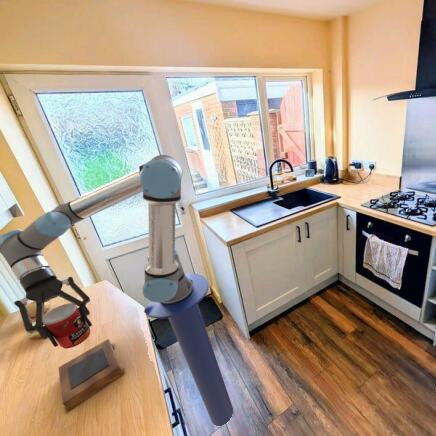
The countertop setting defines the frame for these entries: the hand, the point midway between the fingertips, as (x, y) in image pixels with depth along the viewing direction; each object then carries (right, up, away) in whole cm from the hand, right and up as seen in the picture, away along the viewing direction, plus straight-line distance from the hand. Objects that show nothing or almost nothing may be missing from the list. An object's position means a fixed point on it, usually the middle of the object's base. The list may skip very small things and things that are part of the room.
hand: (74, 334), depth 73 cm
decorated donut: (-34, -10, +26) cm, 45 cm away
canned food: (-2, -3, +4) cm, 5 cm away
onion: (-47, -7, +36) cm, 60 cm away
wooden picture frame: (+1, -16, +6) cm, 17 cm away
